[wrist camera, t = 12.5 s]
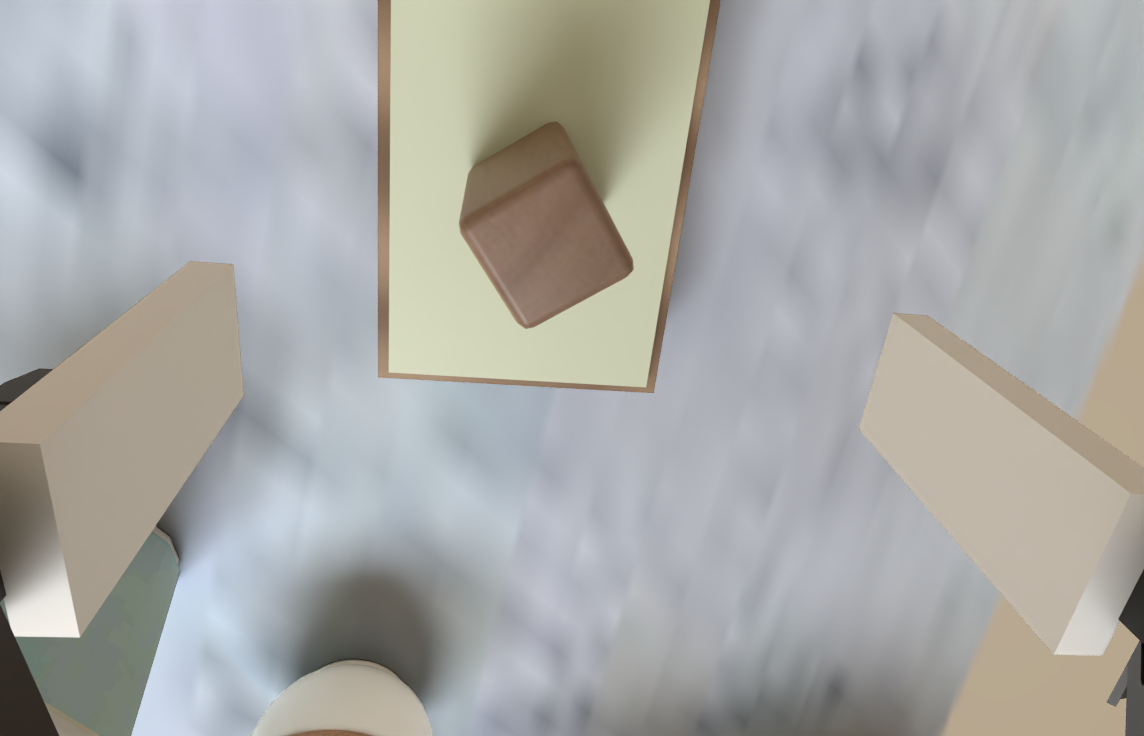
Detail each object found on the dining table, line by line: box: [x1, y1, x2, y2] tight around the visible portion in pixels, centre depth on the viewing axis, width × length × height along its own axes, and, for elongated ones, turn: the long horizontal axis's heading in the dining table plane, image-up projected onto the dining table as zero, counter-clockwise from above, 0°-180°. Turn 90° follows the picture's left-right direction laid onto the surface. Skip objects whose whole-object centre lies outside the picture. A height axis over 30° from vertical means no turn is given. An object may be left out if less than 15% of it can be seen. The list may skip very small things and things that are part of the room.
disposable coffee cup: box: [0, 526, 180, 736], centre depth 34 cm, size 11×11×15 cm
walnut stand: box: [378, 0, 720, 393], centre depth 31 cm, size 18×12×5 cm, turn 174°
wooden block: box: [459, 122, 634, 329], centre depth 26 cm, size 4×4×8 cm
